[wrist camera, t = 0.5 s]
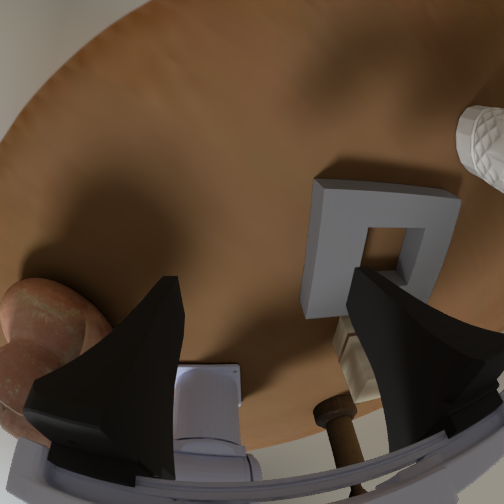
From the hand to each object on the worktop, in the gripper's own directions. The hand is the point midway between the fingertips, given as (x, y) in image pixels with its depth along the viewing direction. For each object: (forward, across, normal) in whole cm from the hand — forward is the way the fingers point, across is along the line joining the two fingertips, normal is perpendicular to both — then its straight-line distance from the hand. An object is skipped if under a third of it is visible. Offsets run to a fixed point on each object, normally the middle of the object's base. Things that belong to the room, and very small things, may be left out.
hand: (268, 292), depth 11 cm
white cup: (+10, -21, -7) cm, 25 cm away
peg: (+10, -11, +14) cm, 20 cm away
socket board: (+10, -11, +4) cm, 15 cm away
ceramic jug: (+10, +19, +11) cm, 25 cm away
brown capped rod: (+10, -13, +32) cm, 36 cm away
